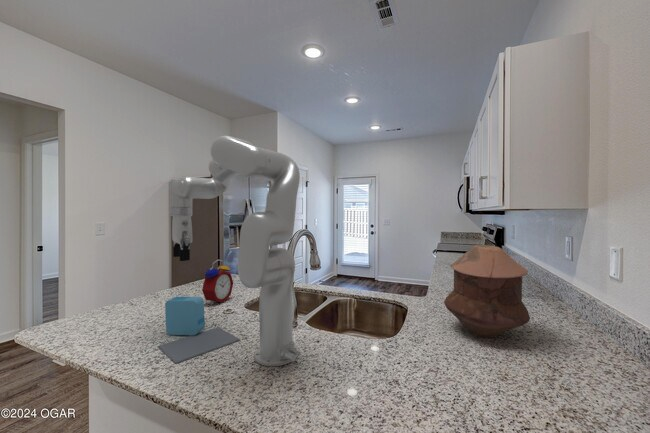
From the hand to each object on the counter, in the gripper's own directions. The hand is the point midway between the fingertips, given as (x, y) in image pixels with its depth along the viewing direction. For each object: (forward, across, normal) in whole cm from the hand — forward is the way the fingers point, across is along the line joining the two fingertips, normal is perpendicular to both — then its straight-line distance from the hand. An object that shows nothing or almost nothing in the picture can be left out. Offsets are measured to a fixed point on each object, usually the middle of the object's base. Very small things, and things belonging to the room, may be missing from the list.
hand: (181, 258), depth 107 cm
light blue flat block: (+25, -8, 0) cm, 26 cm away
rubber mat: (+25, -20, -1) cm, 32 cm away
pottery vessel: (+22, -75, -79) cm, 111 cm away
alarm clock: (+26, +20, -20) cm, 39 cm away
